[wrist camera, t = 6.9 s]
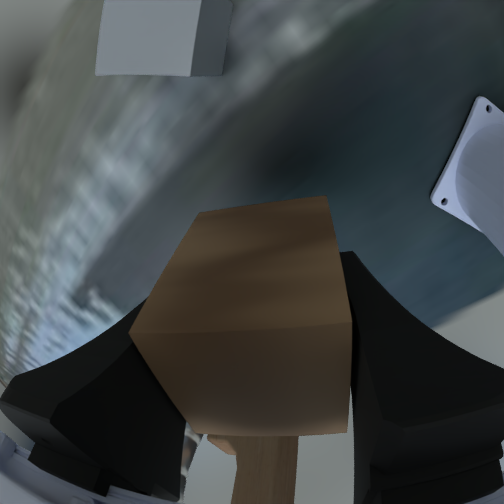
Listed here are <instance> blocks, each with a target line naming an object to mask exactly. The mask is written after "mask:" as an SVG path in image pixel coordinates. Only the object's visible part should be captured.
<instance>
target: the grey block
mask: <svg viewBox="0 0 504 504" xmlns="http://www.w3.org/2000/svg"><path fill="white" fill-rule="evenodd" d="M232 11H233V4H232V3H231V1H230V0H104V6H103V12H102V18H101V25H100V32H99V40H98V49H97V59H96V70H95V76H98V75H171V76H189V77H192V76H222V73H223V66H224V59H225V53H226V47H227V40H228V34H229V28H230V22H231V16H232Z"/></svg>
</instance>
